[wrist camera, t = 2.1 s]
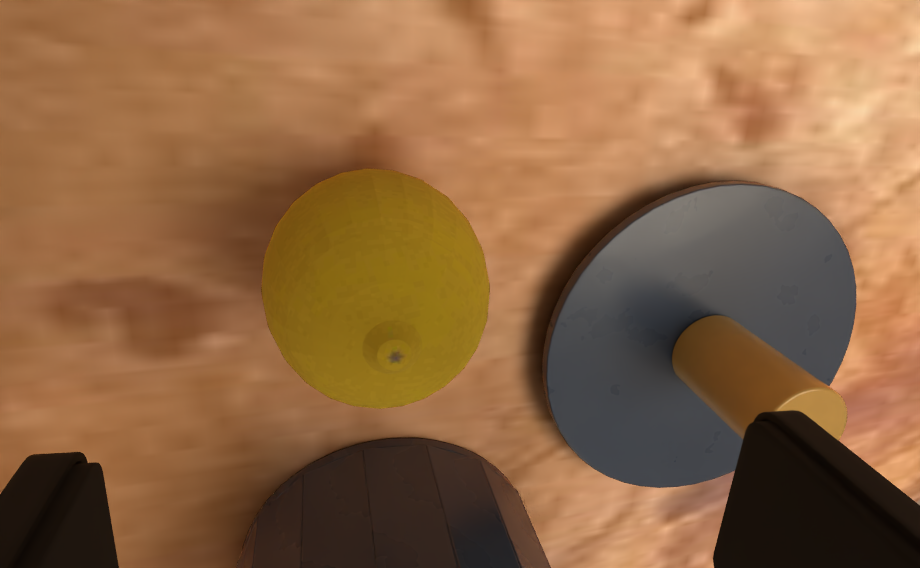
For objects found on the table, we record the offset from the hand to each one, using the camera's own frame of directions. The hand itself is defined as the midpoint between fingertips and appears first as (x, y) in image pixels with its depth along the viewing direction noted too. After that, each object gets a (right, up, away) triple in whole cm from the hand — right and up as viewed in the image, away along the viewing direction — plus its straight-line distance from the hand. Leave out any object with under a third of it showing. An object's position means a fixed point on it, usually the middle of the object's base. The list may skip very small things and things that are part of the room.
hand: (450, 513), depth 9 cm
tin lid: (+9, +1, +14) cm, 16 cm away
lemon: (-3, +5, +11) cm, 12 cm away
